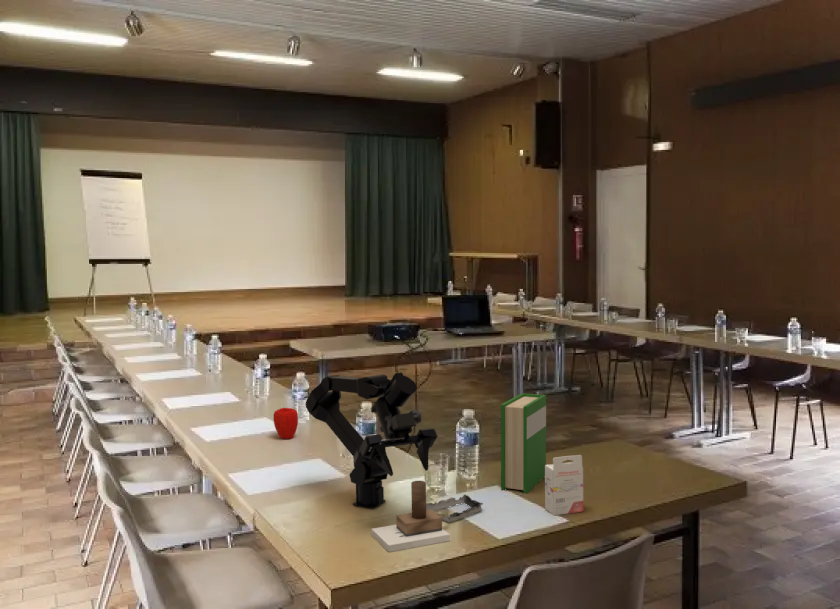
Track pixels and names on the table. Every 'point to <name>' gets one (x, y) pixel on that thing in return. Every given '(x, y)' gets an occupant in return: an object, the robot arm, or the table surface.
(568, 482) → the ink cartridge box
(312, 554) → the table surface
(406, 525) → the brown wooden peg block
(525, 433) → the hardback book
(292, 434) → the apple
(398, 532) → the primed board
